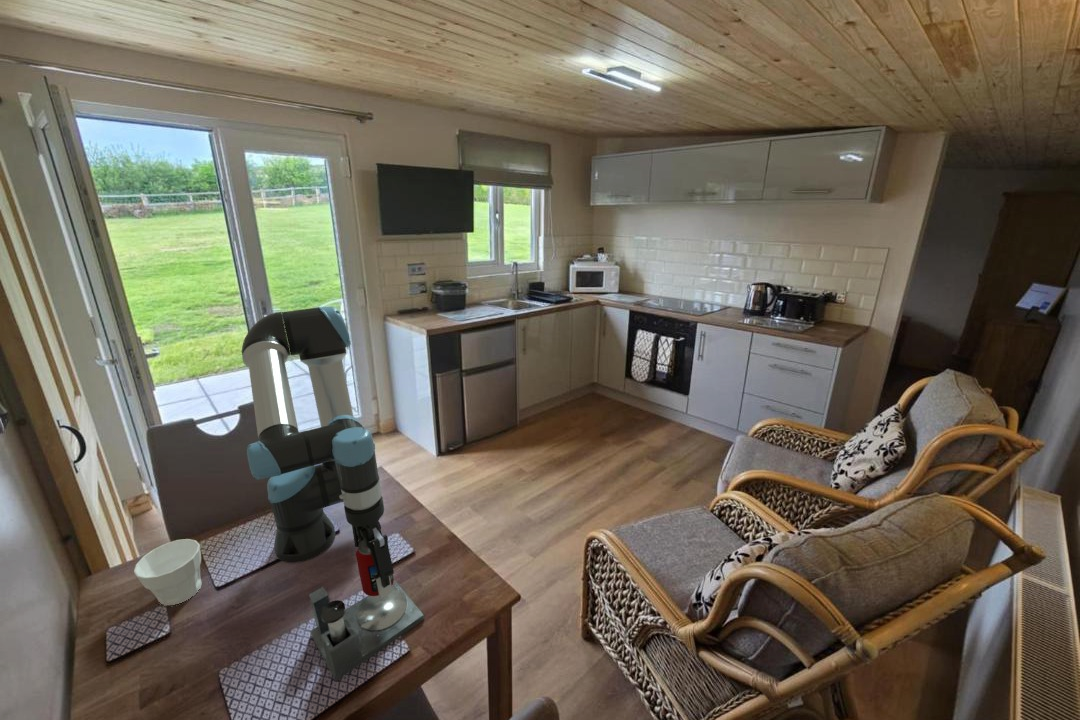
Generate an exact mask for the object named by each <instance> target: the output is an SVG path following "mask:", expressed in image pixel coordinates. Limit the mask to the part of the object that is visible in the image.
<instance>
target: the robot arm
mask: <svg viewBox="0 0 1080 720" xmlns="http://www.w3.org/2000/svg"><path fill="white" fill-rule="evenodd" d="M350 346H351V339H350V334H349V331H348V328H347V325H346V323H345V319H344V318H343V316H342V313H341V312H340V310H339V309H338V308H337V307H334V306H317V307H311V308H304V309H296V310H289V311H288V310H287V311H277V312H273V313H269V314H267V315H265V316H263V317H262V318H260V319H259V320H258V321H257V322H256V323H255V324H253V325H252V326H251V328H250V329H249V331H248V332H247V334H246V335H245V338H244V339H243V343H242V346H241V356H242V361H243V364H244V365H245V366H246V367H247V368H248V371H249V378H250V385H251V387H250V388H251V393H252V394H251V395H252V401H253V410H254V416H255V417H254V418H255V424H256V429H257V431H256V432H257V438H258V441H257V440H256V441H255V442H253V443H250V444H248V445H247V447H246V457H247V462H248V465H249V466H248V467H249V471H250V473H251V476H252V477H253V478H254V479H256V480H264V479H268V478H269V479H268V481H267V485H266V489H267V500H268V502H270V506H271V510H272V514H273V519H274V523H275V525H276V532H275V539H274V544H273V547H274V552H275V556H276V557H277V559H278V560H280V561H281V562H284V563H290V564H296V563H300V562H306V561H308V560H312V559H314V558H315V557H318V556H319V555H321V554H323V553H324V552H325V551H326V550H328V549H329V547H331V546H332V545H333V543H334V541H335V538H336V531H335V530H336V529H335V525H334V524H333V521H331V519H330V518H329V517H328V515H327V513H326V512H324V508H327V507H331V506H333V505H337V504H340V503H343V505H344V506H343V508H344V513H345V518H346V519H345V520H346V522H347V523H349V525H351V527H352V529H351V530H352V535H353V542H354V547H355V548H356V549H358V546H359V543H360V542H361V541H362V540H364V542H365V545H366V547H368V548H369V549H370V552H371V556H372V559H373V562H374V565H375V569H376V572H377V573H376V574H375V576H374V578H375V579H376V581H377V587H378V592H379V597H380V599H382V598H384V597H386V596H387V595H389V594H390V593H392V586H391V580H390V575H392V574H393V575H394V574H395V571H394V567H393V562H392V557H391V552H390V547H389V539H388V537H389V536H388V535H387V534H386V533H385V534H384V535H383V533H382V531H381V529H382V526H381V523H380V521H379V520H380V519H381V518H382V516H383V515H384V513H385V506H384V498H383V496H382V494H383V492H382V490H383V489H382V485H381V479H380V476H379V470H378V463H377V457H376V456H377V455H376V445H375V442H374V439H373V434H372V433H371V431H370V430H369V429H367V428H365V427H364V426H363V425H362V423H361V422H360V420H358V418H356V417H355V416H354V411H353V409H352V408H353V407H352V403H351V399H350V392H349V388H348V384H347V383H348V382H347V376H346V374H345V369H344V362H343V359H344V358H345V356H346V355H347V353H348V352H347V348H349V347H350ZM297 355H299V361H300V362H301V363H302V364H304V365H306V366H307V367H308V371H309V376H310V381H311V387H312V390H313V394H314V400H315V405H316V410H317V413H318V414H317V415H318V418H319V423H320V427H316V428H312V429H309V430H308V429H307V430H304V431H300V430H299V427H298V421H297V416H296V411H295V407H294V402H293V396H292V391H291V387H290V382H289V377H288V372H287V368H286V362H287V360H288V358H289V357H290V356H297ZM374 539H375V540H374ZM369 541H372V542H370V543H369Z"/></svg>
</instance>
